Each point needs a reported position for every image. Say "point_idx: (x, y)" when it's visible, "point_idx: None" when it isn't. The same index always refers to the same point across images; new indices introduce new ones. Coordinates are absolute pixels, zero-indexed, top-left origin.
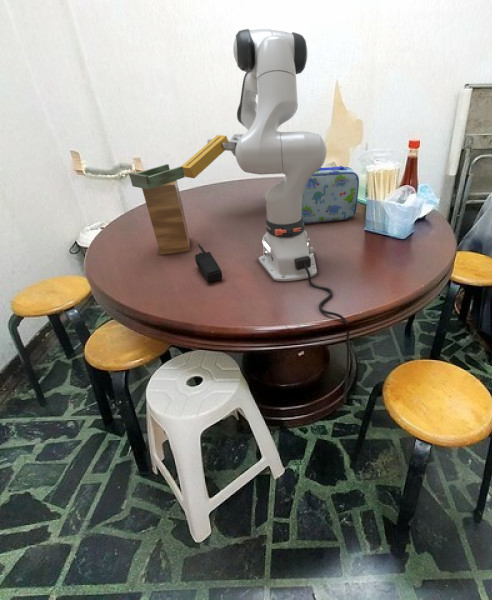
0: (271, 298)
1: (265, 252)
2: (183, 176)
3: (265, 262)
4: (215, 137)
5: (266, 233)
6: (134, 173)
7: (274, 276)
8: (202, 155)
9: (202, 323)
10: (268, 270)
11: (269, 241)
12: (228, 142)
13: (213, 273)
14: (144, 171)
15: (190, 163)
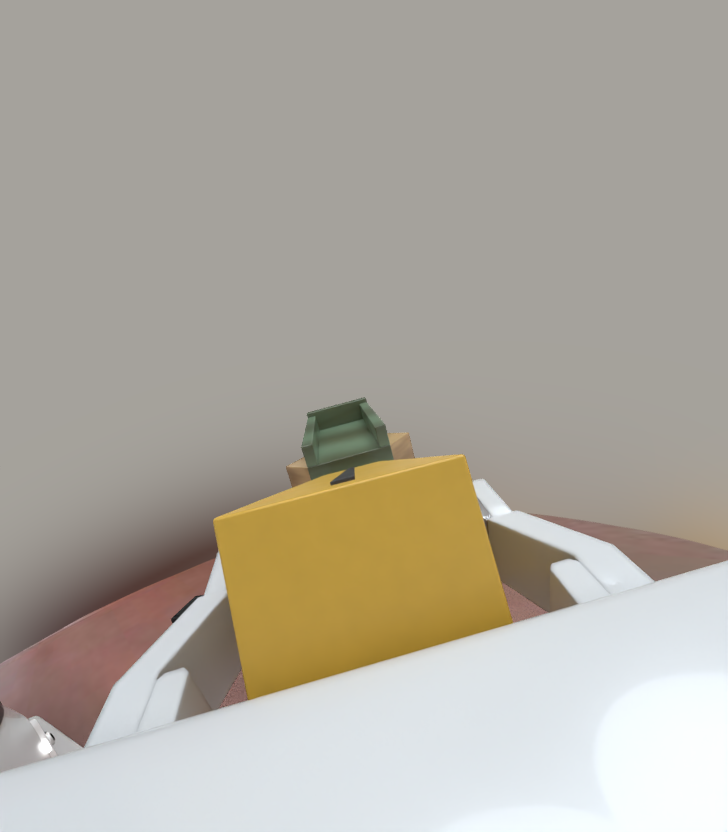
0: (52, 673)
1: (47, 732)
2: (310, 477)
3: (64, 751)
4: (421, 461)
5: (12, 719)
6: (352, 401)
7: (35, 718)
8: (321, 477)
9: (169, 577)
10: (54, 727)
11: (9, 710)
12: (246, 672)
13: (184, 606)
14: (363, 408)
15: (344, 470)
